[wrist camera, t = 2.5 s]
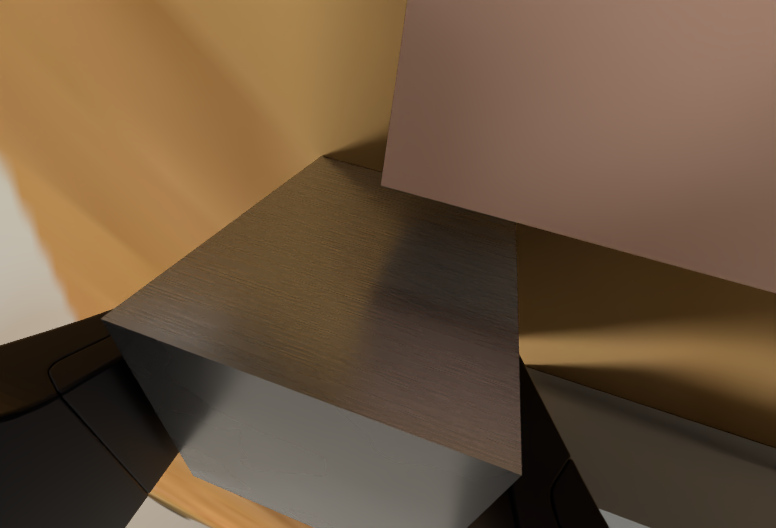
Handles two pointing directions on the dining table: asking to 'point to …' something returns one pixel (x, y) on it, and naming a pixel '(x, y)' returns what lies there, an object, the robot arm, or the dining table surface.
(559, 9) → the pinkish brown block
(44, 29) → the dining table surface
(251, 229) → the metal box
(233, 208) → the dining table surface
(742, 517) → the tote
